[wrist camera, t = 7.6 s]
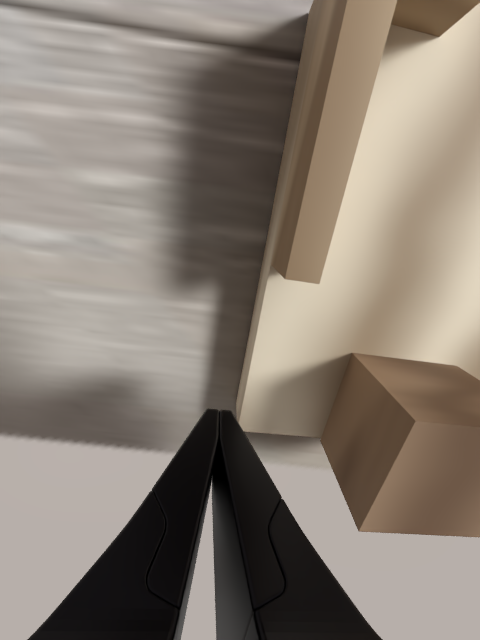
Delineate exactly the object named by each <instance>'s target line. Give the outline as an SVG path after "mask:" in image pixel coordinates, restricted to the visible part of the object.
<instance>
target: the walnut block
mask: <svg viewBox="0 0 480 640" xmlns="http://www.w3.org/2000/svg"><path fill="white" fill-rule="evenodd" d="M320 441H321V443H322V445H323V448H324V450H325V453H326V455H327V457H328V460H329V462H330V464H331V467H332V469H333V472H334V474H335V476H336V479H337V481H338V483H339V485H340V488H341V491H342V493H343V495H344V498H345V500H346V502H347V505H348V507H349V509H350V512H351V514H352V517H353V519H354V521H355V524H356V526H357V528H358V531H362V532H382V533H401V534H422V535H442V536H463V537H480V380H478V379H477V378H475V377H474V376H472V375H471V374H469V373H467V372H466V371H464V370H463V369H461V368H460V367H458V366H455V365H447V364H439V363H431V362H423V361H415V360H407V359H399V358H391V357H383V356H375V355H367V354H359V353H352V354H351V357H350V359H349V362H348V365H347V368H346V371H345V373H344V376H343V379H342V382H341V384H340V387H339V390H338V393H337V396H336V398H335V401H334V404H333V407H332V409H331V412H330V415H329V418H328V421H327V423H326V426H325V429H324V432H323V435H322V437H321V440H320Z"/></svg>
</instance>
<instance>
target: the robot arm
mask: <svg viewBox="0 0 480 640" xmlns="http://www.w3.org/2000/svg"><path fill="white" fill-rule="evenodd" d="M211 481H212V510H213V542H214V574H215V603H216V605H215V607H216V638H217V640H382V639H381V638H380V637H379V636H378V635H377V634H376V632H375V631H374V630H373V629H372V628H371V626H370V625H369V624H368V623H367V621H366V620H365V619H364V617H363V616H362V615H361V613H360V612H359V611H358V609H357V608H356V606H355V605H354V604H353V602H352V601H351V600H350V598H349V597H348V595H347V594H346V593H345V591H344V590H343V588H342V587H341V586H340V584H339V583H338V581H337V580H336V578H335V577H334V576H333V574H332V573H331V571H330V570H329V569H328V567H327V566H326V565H325V563H324V562H323V560H322V559H321V558H320V556H319V555H318V553H317V552H316V551H315V549H314V548H313V546H312V545H311V543H310V542H309V540H308V539H307V537H306V536H305V534H304V533H303V532H302V530H301V528H300V527H299V525H298V523H297V522H296V520H295V518H294V517H293V515H292V514H291V512H290V510H289V509H288V507H287V505H286V503H285V502H284V500H283V499H281V498H282V497H281V495H280V493H279V491H278V490H277V488H276V486H275V485H274V483H273V481H272V479H271V478H270V476H269V474H268V473H267V471H266V469H265V467H264V466H263V464H262V462H261V461H260V459H259V457H258V455H257V454H256V452H255V450H254V449H253V447H252V445H251V443H250V442H249V440H248V438H247V437H246V435H245V433H244V431H243V430H242V428H241V426H240V424H239V423H238V421H237V419H236V418H235V416H234V414H233V412H232V411H229V410H220V411H219V410H217V409H206V411H205V412H204V414H203V415H202V416H201V418H200V419H199V421H198V422H197V424H196V425H195V427H194V428H193V430H192V431H191V433H190V434H189V436H188V437H187V438H186V440H185V441H184V443H183V444H182V446H181V447H180V449H179V450H178V452H177V453H176V455H175V456H174V458H173V459H172V461H171V462H170V463H169V465H168V466H167V468H166V469H165V471H164V472H163V474H162V475H161V477H160V478H159V480H158V481H157V482H156V484H155V485H154V487H153V488H152V491H151V492H149V494H148V496H147V497H146V498H145V500H144V501H143V503H142V504H141V506H140V507H139V508H138V510H137V511H136V513H135V514H134V515H133V517H132V518H131V520H130V521H129V522H128V524H127V525H126V526H125V527H124V528H123V530H122V531H121V532H120V534H119V535H118V536H117V537H116V538H115V540H114V541H113V542H112V543H111V545H110V546H109V547H108V548H107V549H106V551H105V552H104V553H103V554H102V555H101V557H100V558H99V559H98V560H97V561H96V563H95V564H94V565H93V566H92V567H91V568H90V569H89V571H88V572H87V573H86V574H85V575H84V577H83V578H82V579H81V580H80V582H79V583H78V584H77V585H76V586H75V587H74V588H73V590H72V591H71V592H70V593H69V594H68V595H67V597H66V598H65V599H64V600H63V601H62V603H61V604H60V605H59V606H58V607H57V608H56V610H55V611H54V612H53V613H52V614H51V615H50V616H49V618H48V619H47V620H46V621H45V622H44V623H43V624H42V625H41V626H40V627H39V628H38V629H37V631H36V632H35V633H34V634H33V635H32V636H31V637H30V638H29V639H28V640H181V634H182V630H183V624H184V619H185V614H186V609H187V604H188V598H189V594H190V589H191V584H192V579H193V574H194V568H195V563H196V558H197V553H198V547H199V543H200V538H201V533H202V528H203V523H204V517H205V513H206V508H207V503H208V498H209V492H210V486H211Z"/></svg>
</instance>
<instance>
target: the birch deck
mask: <svg viewBox="0 0 480 640" xmlns="http://www.w3.org/2000/svg"><path fill="white" fill-rule="evenodd" d="M352 353H359V354H367V355H375V356H383V357H391V358H399V359H407V360H415V361H423V362H431V363H439V364H447V365H455V366H458V367H460V368H461V369H463V370H464V371H466V372H467V373H469V374H471V375H472V376H474V377H475V378H477V379H478V380H480V0H314V1H313V4H312V6H311V9H310V11H309V16H308V21H307V27H306V32H305V37H304V43H303V48H302V53H301V59H300V64H299V69H298V75H297V80H296V85H295V91H294V96H293V101H292V107H291V112H290V117H289V123H288V128H287V133H286V139H285V144H284V149H283V155H282V160H281V165H280V171H279V176H278V181H277V187H276V192H275V197H274V203H273V208H272V214H271V219H270V224H269V230H268V235H267V240H266V246H265V251H264V256H263V262H262V267H261V272H260V278H259V283H258V288H257V294H256V299H255V304H254V310H253V315H252V320H251V326H250V331H249V336H248V342H247V347H246V352H245V358H244V363H243V368H242V374H241V379H240V385H239V390H238V395H237V401H236V412H237V421H238V423H239V424H240V426H241V428H242V430H243V431H245V432H257V433H268V434H280V435H292V436H304V437H315V438H321V437H322V435H323V432H324V429H325V426H326V423H327V421H328V418H329V415H330V412H331V409H332V407H333V404H334V401H335V398H336V396H337V393H338V390H339V387H340V384H341V382H342V379H343V376H344V373H345V371H346V368H347V365H348V362H349V359H350V357H351V354H352Z"/></svg>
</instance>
